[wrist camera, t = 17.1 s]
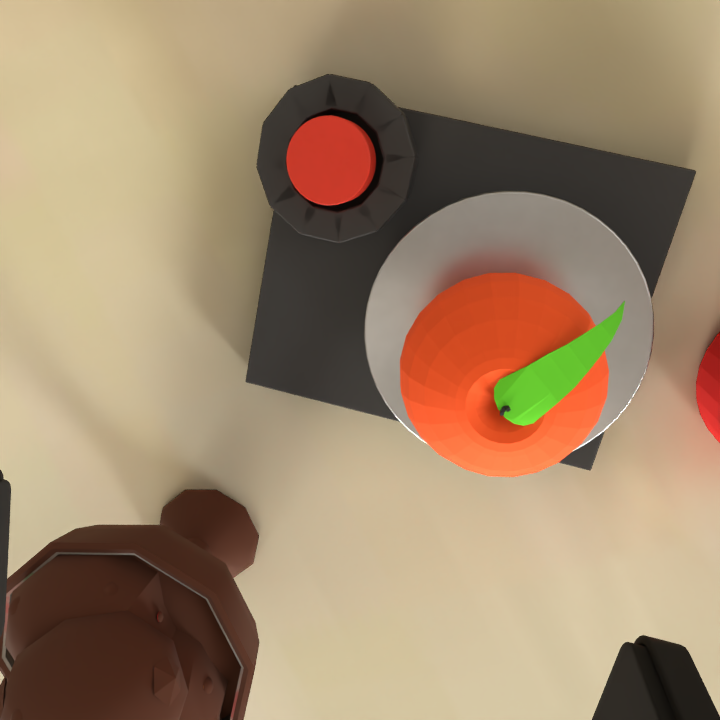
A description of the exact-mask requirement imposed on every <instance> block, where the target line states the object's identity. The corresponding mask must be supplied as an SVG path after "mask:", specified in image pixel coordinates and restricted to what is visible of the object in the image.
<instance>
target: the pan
mask: <svg viewBox="0 0 720 720" xmlns="http://www.w3.org/2000/svg"><path fill="white" fill-rule="evenodd" d="M487 273H519V274H523V275H527V276H530V277H534V278H538V279H542V280H546V281H547V282H549V283H551V284H553V285H554V286H556V287H558V288H560V289H562V290H563V291H565V292H567V293H569V294H570V295H571V296H572V297H573V298H574V299H575V300H576V301H577V302H578V303H579V304H580V305H581V306H582V307H583V308H584V309H585V310H586V311H587V312H588V313H589V315H590V316H591V318H592V320H593V322H594V324H595V325H596V326H597V325H598V324H600V323H601V322H602V321H604V320H605V319H606V318H608V317H609V316H610V315H612V314H613V313H614V312H615V311H616V310H617V309H618V308H619V307H620V305H621V304H622V303H623V302H624V301H625V305H624V311H623V317H622V321H621V323H620V325H619V327H618V329H617V331H616V333H615V335H614V337H613V339H612V341H611V342H610V344H609V345H608V346H607V348H606V349H605V354H606V359H607V363H608V368H609V378H608V392H607V399H606V401H605V404H604V407H603V409H602V412H601V415H600V417H599V420H598V422H597V423H596V425H595V426H594V428H593V429H592V430H591V432H590V433H589V434H588V436H587V437H586V439H585V440H584V441H583V443H582V444H580V445H579V446H578V447H577V448H576V449H578V448H580V447H581V446H583V445H585V444H587V443H588V442H590V441H591V440H593V439H594V438H595V437H597V436H598V435H599V434H601V433H602V432H603V431H605V430H606V429H607V428H608V427H609V426H610V425H611V424H612V423H613V422H614V421H615V420H616V419H617V418H618V417H619V416H620V414H621V413H622V412H623V411H624V409H625V408H626V407H627V406H628V404H629V403H630V401H631V400H632V398H633V396H634V395H635V393H636V392H637V390H638V388H639V386H640V384H641V382H642V379H643V377H644V375H645V373H646V370H647V366H648V363H649V359H650V356H651V352H652V344H653V337H654V314H653V307H652V300H651V296H650V292H649V289H648V286H647V282H646V279H645V277H644V275H643V273H642V271H641V268H640V266H639V264H638V262H637V260H636V259H635V257H634V256H633V254H632V253H631V251H630V250H629V248H628V247H627V245H626V244H625V243H624V242H623V241H622V240H621V239H620V238H619V236H618V235H617V234H616V233H615V232H614V231H613V230H612V229H611V228H609V227H608V226H607V225H606V224H605V223H603V222H602V221H601V220H600V219H599V218H597V217H595V216H594V215H592V214H591V213H589V212H587V211H586V210H584V209H583V208H581V207H578V206H576V205H574V204H572V203H569V202H567V201H565V200H562V199H559V198H556V197H552V196H549V195H545V194H541V193H534V192H528V191H496V192H487V193H482V194H478V195H474V196H470V197H466V198H463V199H461V200H458V201H455V202H453V203H450V204H448V205H446V206H444V207H442V208H441V209H439V210H437V211H435V212H433V213H432V214H430V215H429V216H427V217H426V218H425V219H423V220H422V221H420V222H419V223H418V224H416V225H415V226H414V227H413V228H412V229H411V230H410V231H409V232H408V233H407V234H406V235H405V236H404V237H403V238H402V239H401V240H400V241H399V242H398V244H397V245H396V246H395V247H394V249H393V250H392V251H391V252H390V254H389V255H388V257H387V258H386V260H385V262H384V263H383V265H382V267H381V268H380V270H379V272H378V274H377V277H376V279H375V281H374V283H373V286H372V289H371V292H370V296H369V299H368V303H367V308H366V315H365V328H364V340H365V348H366V356H367V360H368V364H369V368H370V372H371V374H372V377H373V379H374V382H375V384H376V387H377V389H378V391H379V393H380V394H381V396H382V398H383V400H384V401H385V403H386V405H387V406H388V407H389V409H390V410H391V411H392V413H393V414H394V415H395V417H396V418H397V419H398V420H399V421H400V422H401V423H402V424H403V425H404V426H405V427H406V428H407V429H408V430H409V431H410V432H412V433H413V434H414V435H415V436H417V437H418V438H419V439H420V440H422V441H423V442H425V441H424V440H423V439H422V438H421V437H420V435H419V433H418V432H417V430H416V428H415V427H414V425H413V424H412V422H411V420H410V419H409V417H408V415H407V411H406V408H405V404H404V401H403V398H402V394H401V388H400V357H401V354H402V350H403V346H404V342H405V338H406V335H407V333H408V332H409V330H410V328H411V327H412V325H413V323H414V321H415V320H416V318H417V316H418V315H419V313H420V312H421V311H422V310H423V309H424V308H425V307H426V306H427V305H428V304H429V303H430V302H431V301H432V300H433V299H434V298H435V297H436V296H437V295H438V294H440V293H441V292H443V291H445V290H446V289H448V288H450V287H452V286H454V285H455V284H457V283H459V282H461V281H462V280H464V279H468V278H472V277H475V276H479V275H483V274H487ZM425 443H426V442H425ZM576 449H575V450H576ZM573 451H574V450H573Z"/></svg>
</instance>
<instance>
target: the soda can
mask: <svg viewBox="0 0 720 720" xmlns="http://www.w3.org/2000/svg"><path fill="white" fill-rule="evenodd" d="M696 398H697V403H698V407H699V411H700V415H701V417H702V419H703V420H704V422H705V424H706V426H707V428H708V430H709V431H710V432H711V433H712V434H713V436H714V437H715V438H716V439H717V440H718V442H719V443H720V332H719V333H718V334H717V336H716V337H715V338H714V340H713V341H712V343H711V344H710V346H709V347H708V349H707V350H706V353H705V355H704V357H703V359H702V362H701V364H700V367H699V372H698V376H697V381H696Z"/></svg>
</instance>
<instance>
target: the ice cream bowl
mask: <svg viewBox="0 0 720 720" xmlns="http://www.w3.org/2000/svg"><path fill="white" fill-rule="evenodd" d="M258 538H259V535H258V533H257V531H256V529H255V527H254V525H253V523H252V521H251V519H250V517H249V515H248V513H247V510H246V508H245V507H243V506H242V505H240V504H239V503H237V502H235V501H234V500H232V499H231V498H229V497H227V496H226V495H224V494H223V493H221V492H219V491H218V490H184V491H183V492H182V493H181V494H179V495H178V496H177V497H176V498H175V499H173V500H172V501H171V502H170V503H168V504H167V505H166V506H165V507H163V510H162V514H161V520H160V525H94V526H89V527H83V528H77V529H74V530H72V531H71V532H69V533H67V534H65V535H63V536H61V537H60V538H58V539H56V540H54V541H52V542H50V543H49V544H48V545H47V546H46V547H44V548H43V549H42V550H41V551H40V552H39V553H37V554H36V555H35V556H34V557H33V558H31V559H30V560H29V561H28V562H27V563H26V564H24V565H23V566H22V567H21V568H20V569H18V570H17V571H16V572H15V573H14V574H13V575H11V576H10V577H9V578H8V579H7V590H6V612H5V625H4V629H3V632H2V635H1V637H0V671H1V672H2V674H3V676H4V679H3V681H2V683H1V685H0V720H244V715H245V711H246V706H247V702H248V697H249V693H250V688H251V684H252V679H253V675H254V670H255V665H256V659H257V653H258V647H259V639H258V633H257V628H256V623H255V620H254V618H253V616H252V614H251V612H250V611H249V609H248V607H247V605H246V603H245V601H244V599H243V597H242V595H241V593H240V591H239V589H238V587H237V585H236V583H235V581H234V579H233V578H234V577H235V576H237V575H238V574H239V573H241V572H242V571H243V570H245V569H246V568H248V567H249V566H250V565H252V564H253V562H254V557H255V552H256V548H257V543H258Z"/></svg>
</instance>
